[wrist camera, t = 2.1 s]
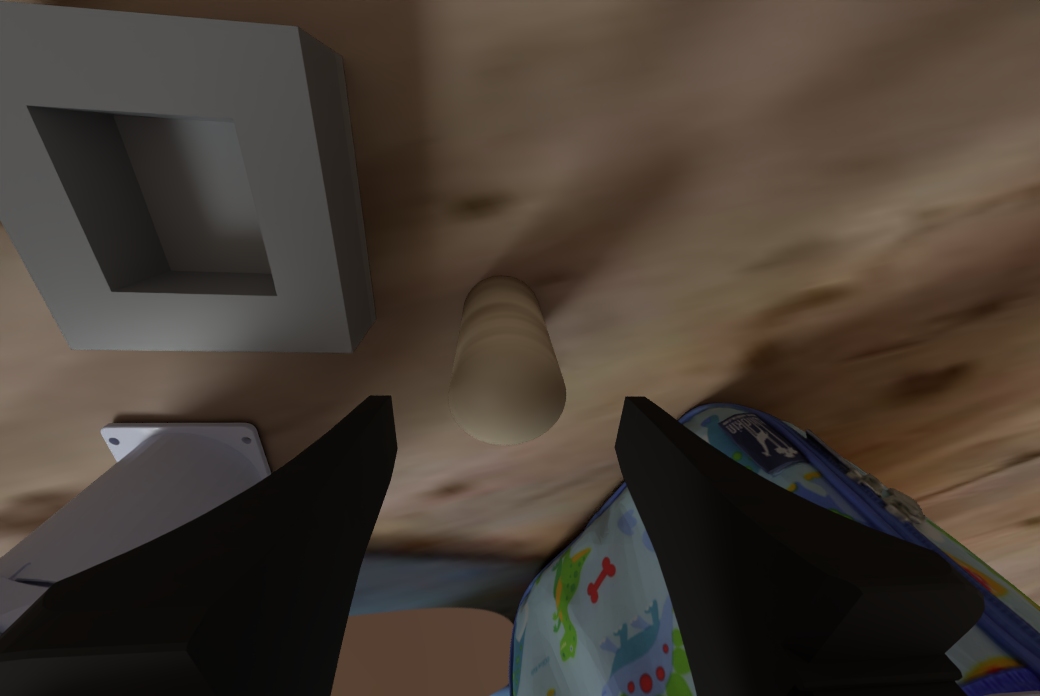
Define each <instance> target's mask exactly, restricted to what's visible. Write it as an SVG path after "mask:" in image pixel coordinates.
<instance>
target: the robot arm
mask: <svg viewBox="0 0 1040 696" xmlns="http://www.w3.org/2000/svg"><path fill="white" fill-rule="evenodd" d="M101 434H102V436H103V438H104V440H105V441H106V443H107V445H108V447H109V448H110V450H111V452H112V454H113V455H114V457H115V459H116V461H117V463H116V464H115V465H114V466H112V467H111V468H110V469H109V470H108V471H106V472H105V473H104V474H103V475H101V476H100V477H99V478H98V479H97V480H95V481H94V482H93V483H92V484H91V485H89V486H88V487H87V488H86V489H84V490H83V491H82V492H81V493H80V494H78V495H77V496H76V497H75V498H73V499H72V500H71V501H70V502H69V503H67V504H66V505H65V506H64V507H62V508H61V509H60V510H59V511H58V512H56V513H55V514H54V515H53V516H51V517H50V518H49V519H48V520H47V521H45V522H44V523H43V524H42V525H41V526H39V527H38V528H37V529H36V530H34V531H33V532H32V533H31V534H30V535H28V536H27V537H26V538H25V539H23V540H22V541H21V542H20V543H19V544H17V545H16V546H15V547H14V548H12V549H11V550H10V551H9V552H8V553H6V554H5V555H4V556H3V557H1V558H0V696H330V695H331V690H332V685H333V681H334V677H335V672H336V668H337V663H338V658H339V654H340V649H341V645H342V640H343V636H344V632H345V628H346V623H347V619H348V615H349V611H350V607H351V603H352V599H353V595H354V591H355V587H356V583H357V579H358V575H359V571H360V567H361V564H362V561H363V558H364V554H365V551H366V548H367V546H368V543H369V540H370V537H371V534H372V532H373V529H374V526H375V523H376V520H377V518H378V515H379V512H380V509H381V506H382V504H383V501H384V498H385V495H386V492H387V489H388V487H389V484H390V481H391V477H392V473H393V468H394V464H395V459H396V454H397V449H398V448H397V440H396V432H395V424H394V416H393V408H392V399H391V396H369V397H368V398H366V399H365V400H364V401H363V402H362V403H361V404H360V405H358V406H357V407H356V408H355V409H354V410H353V411H352V412H350V413H349V414H348V415H347V416H346V417H345V418H343V419H342V420H341V421H340V422H339V423H338V424H336V425H335V426H334V427H333V428H332V429H331V430H329V431H328V432H327V433H326V434H325V435H323V436H322V437H321V438H320V439H318V440H317V441H316V442H314V443H313V444H312V445H310V446H309V447H308V448H307V449H305V450H304V451H303V452H301V453H300V454H299V455H297V456H296V457H295V458H294V459H292V460H291V461H289V462H288V463H287V464H285V465H284V466H282V467H281V468H279V469H278V470H277V471H275V472H274V473H272V474H271V471H270V468H269V465H268V462H267V459H266V456H265V453H264V450H263V447H262V444H261V441H260V438H259V435H258V432H257V429H256V428H255V427H254V426H253V425H252V424H249V423H109V424H107V425H106V426H104V427H103V428H102V429H101ZM247 437H248V438H250V439H248V438H247ZM615 450H616V454H617V458H618V462H619V465H620V468H621V472H622V475H623V478H624V480H625V483H626V485H627V487H628V490H629V492H630V495H631V497H632V499H633V502H634V504H635V506H636V508H637V511H638V513H639V515H640V518H641V520H642V522H643V525H644V527H645V529H646V532H647V534H648V536H649V538H650V541H651V543H652V546H653V548H654V551H655V553H656V556H657V559H658V562H659V565H660V568H661V571H662V574H663V577H664V580H665V584H666V587H667V590H668V593H669V596H670V600H671V603H672V606H673V610H674V613H675V617H676V620H677V623H678V627H679V630H680V634H681V637H682V641H683V645H684V648H685V652H686V656H687V660H688V663H689V667H690V671H691V674H692V678H693V682H694V686H695V690H696V695H697V696H967V694H966V693H965V692H964V691H963V690H962V689H961V688H960V687H959V685H958V684H957V683H956V682H955V681H959V680H960V679H961V678H962V677H963V676H962V673H961V671H960V670H959V668H958V667H957V666H956V665H955V664H954V663H953V662H952V661H951V660H950V659H949V658H948V656H947V655H946V654H945V653H946V652H947V651H948V650H949V649H950V648H951V647H952V646H953V645H954V644H955V643H956V642H957V641H959V640H960V639H961V638H962V637H963V636H964V635H965V634H966V633H967V632H968V631H969V630H970V629H971V628H972V627H973V626H974V625H975V624H976V623H977V622H978V621H979V619H980V618H981V616H982V614H983V612H984V610H985V602H984V595H983V594H982V593H981V592H980V591H979V590H978V589H977V588H976V587H975V586H974V585H973V584H972V583H971V582H970V581H968V580H967V579H966V578H965V577H964V576H963V575H962V574H961V573H960V572H959V571H957V570H956V569H955V568H954V567H953V566H952V565H951V564H950V563H949V562H947V561H946V560H945V559H944V558H943V557H942V556H941V555H939V554H938V553H937V552H935V551H933V550H930V549H927V548H925V547H922V546H919V545H917V544H914V543H911V542H908V541H906V540H903V539H900V538H898V537H895V536H892V535H889V534H887V533H884V532H881V531H878V530H876V529H873V528H871V527H868V526H866V525H863V524H861V523H859V522H856V521H854V520H851V519H849V518H847V517H844V516H842V515H840V514H837V513H835V512H833V511H830V510H828V509H826V508H824V507H822V506H819V505H817V504H815V503H813V502H811V501H809V500H807V499H805V498H803V497H801V496H799V495H797V494H794V493H792V492H790V491H788V490H786V489H784V488H782V487H781V486H779V485H777V484H775V483H773V482H771V481H769V480H767V479H766V478H764V477H762V476H760V475H759V474H757V473H755V472H753V471H752V470H750V469H748V468H746V467H745V466H743V465H741V464H740V463H738V462H737V461H735V460H733V459H732V458H730V457H729V456H727V455H726V454H724V453H723V452H721V451H720V450H718V449H717V448H715V447H713V446H712V445H711V444H709V443H708V442H706V441H705V440H703V439H702V438H701V437H699V436H698V435H696V434H695V433H694V432H692V431H691V430H689V429H688V428H687V427H685V426H684V425H683V424H681V423H680V422H679V421H677V420H676V419H675V418H673V417H672V416H671V415H669V414H668V413H667V412H665V411H664V410H663V409H661V408H660V407H659V406H657V405H656V404H655V403H653V402H652V401H650V400H649V399H647V398H646V397H625V401H624V406H623V411H622V415H621V420H620V425H619V429H618V434H617V439H616V443H615ZM984 696H1040V691H1026V692H1012V693H998V694H990V695H984Z"/></svg>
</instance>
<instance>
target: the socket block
mask: <svg viewBox="0 0 1040 696" xmlns="http://www.w3.org/2000/svg"><path fill="white" fill-rule="evenodd" d="M0 221H1V222H2V224H3V226H4V228H5V230H6V232H7V233H8V235H9V237H10V239H11V241H12V243H13V244H14V246H15V248H16V250H17V252H18V254H19V255H20V257H21V259H22V261H23V263H24V264H25V266H26V268H27V270H28V272H29V274H30V275H31V277H32V279H33V281H34V283H35V285H36V286H37V288H38V290H39V292H40V294H41V296H42V297H43V299H44V301H45V303H46V305H47V307H48V308H49V310H50V312H51V314H52V316H53V318H54V319H55V321H56V323H57V325H58V327H59V328H60V330H61V332H62V334H63V336H64V338H65V339H66V341H67V343H68V345H69V347H70V349H75V350H151V351H227V352H303V353H353V352H354V350H355V349H356V347H357V346H358V344H359V343H360V342H361V340H362V339H363V337H364V336H365V334H366V333H367V332H368V330H369V329H370V327H371V326H372V324H373V323H374V322H375V320H376V313H375V306H374V298H373V290H372V283H371V275H370V267H369V259H368V252H367V244H366V236H365V229H364V221H363V213H362V205H361V198H360V190H359V182H358V175H357V167H356V159H355V151H354V144H353V136H352V128H351V121H350V113H349V105H348V97H347V90H346V82H345V74H344V67H343V59H342V56H341V55H339V54H338V53H336V52H335V51H333V50H332V49H330V48H329V47H327V46H326V45H324V44H323V43H321V42H320V41H318V40H317V39H315V38H314V37H312V36H311V35H310V34H308V33H307V32H305V31H304V30H302V29H301V28H299V27H298V26H287V25H276V24H264V23H252V22H240V21H229V20H217V19H205V18H194V17H182V16H170V15H158V14H147V13H135V12H123V11H112V10H100V9H88V8H76V7H65V6H53V5H41V4H29V3H18V2H6V1H0Z"/></svg>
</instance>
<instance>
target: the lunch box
mask: <svg viewBox="0 0 1040 696" xmlns="http://www.w3.org/2000/svg"><path fill="white" fill-rule="evenodd" d="M678 421H679V422H680V423H681V424H683V425H684V426H685V427H687V428H688V429H689V430H691V431H692V432H694V433H695V434H696V435H698V436H699V437H701V438H702V439H703V440H705V441H706V442H708V443H709V444H711V445H712V446H713V447H715V448H717V449H718V450H720V451H721V452H723V453H724V454H726V455H727V456H729V457H730V458H732V459H733V460H735V461H737V462H738V463H740V464H741V465H743V466H745V467H746V468H748V469H750V470H752V471H753V472H755V473H757V474H759V475H760V476H762V477H764V478H766V479H767V480H769V481H771V482H773V483H775V484H777V485H779V486H781V487H782V488H784V489H786V490H788V491H790V492H792V493H794V494H797V495H799V496H801V497H803V498H805V499H807V500H809V501H811V502H813V503H815V504H817V505H819V506H822V507H824V508H826V509H828V510H830V511H833V512H835V513H837V514H840V515H842V516H844V517H847V518H849V519H851V520H854V521H856V522H859V523H861V524H863V525H866V526H868V527H871V528H873V529H876V530H878V531H881V532H884V533H887V534H889V535H892V536H895V537H898V538H900V539H903V540H906V541H908V542H911V543H914V544H917V545H919V546H922V547H925V548H927V549H930V550H933V551H935V552H937V553H938V554H939V555H941V556H942V557H943V558H944V559H945V560H946V561H947V562H949V563H950V564H951V565H952V566H953V567H954V568H955V569H956V570H957V571H959V572H960V573H961V574H962V575H963V576H964V577H965V578H966V579H967V580H968V581H970V582H971V583H972V584H973V585H974V586H975V587H976V588H977V589H978V590H979V591H980V592H981V593H982V594H983V595H984V602H985V610H984V612H983V614H982V616H981V618H980V619H979V621H978V622H977V623H976V624H975V625H974V626H973V627H972V628H971V629H970V630H969V631H968V632H967V633H966V634H965V635H964V636H963V637H962V638H961V639H960V640H959V641H957V642H956V643H955V644H954V645H953V646H952V647H951V648H950V649H949V650H948V651H947V652H946V653H945V654H946V655H947V656H948V658H949V659H950V660H951V661H952V662H953V663H954V664H955V665H956V666H957V667H958V668H959V670H960V671H961V673H962V676H963V677H962V678H961V679H960V680H959V681H955V682H956V683H957V684H958V685H959V687H960V688H961V689H962V690H963V691H964V692H965V693H966V694H967V696H984V695H990V694H998V693H1012V692H1026V691H1040V607H1039V606H1038V605H1037V604H1036V603H1034V602H1033V601H1032V600H1031V599H1030V598H1028V597H1027V596H1026V595H1025V594H1024V593H1022V592H1021V591H1020V590H1019V589H1017V588H1016V587H1015V586H1014V585H1013V584H1011V583H1010V582H1009V581H1008V580H1006V579H1005V578H1004V577H1002V576H1001V575H1000V574H999V573H997V572H996V571H995V570H994V569H992V568H991V567H990V566H989V565H987V564H986V563H985V562H984V561H982V560H981V559H980V558H979V557H977V556H976V555H975V554H973V553H972V552H971V551H970V550H968V549H967V548H966V547H965V546H963V545H962V544H961V543H959V542H958V541H957V540H956V539H954V538H953V537H952V536H950V535H949V534H948V533H946V532H945V531H944V530H943V529H941V528H940V527H939V526H937V525H936V524H935V523H933V522H932V521H931V520H930V519H928V518H927V517H926V516H925V515H923V512H922V511H921V510H922V509H921V508H920V506H919V505H918V504H917V501H915V500H914V499H912V498H910V497H909V496H907V495H905V494H903V493H901V492H899V491H897V490H895V489H893V488H889V489H888V488H887V487H885V486H884V485H883V484H882V483H881V482H880V481H879V480H878V479H877V478H876V477H874V476H873V475H871V474H870V473H869V474H867V473H865V472H864V471H863V470H861V469H860V468H858V467H857V466H855V465H854V464H852V463H851V462H849V461H848V460H846V459H844V458H843V457H841V456H840V455H839V454H838V453H836V452H835V451H834V450H833V449H831V448H830V447H829V446H827V445H826V444H825V443H824V442H823V441H822V440H821V439H820V438H818V437H817V436H816V435H815V434H814V433H813V432H811V431H810V430H809V429H806V433H805V432H804V431H802V430H801V429H799V428H798V427H796V426H794V425H793V424H791V423H789V422H786V421H781V420H780V419H778V418H776V417H774V416H772V415H770V414H767V413H765V412H762V411H759V410H756V409H752V408H749V407H745V406H742V405H737V404H731V403H711V404H706V405H702V406H698V407H696V408H694V409H692V410H690V411H689V412H687V413H686V414H685V415H684V416H683V417H681V418H680V419H679V420H678ZM509 687H510V696H697V695H696V690H695V686H694V682H693V678H692V674H691V671H690V667H689V663H688V660H687V656H686V652H685V648H684V645H683V641H682V637H681V634H680V630H679V627H678V623H677V620H676V617H675V613H674V610H673V606H672V603H671V600H670V596H669V593H668V590H667V587H666V584H665V580H664V577H663V574H662V571H661V568H660V565H659V562H658V559H657V556H656V553H655V551H654V548H653V546H652V543H651V541H650V538H649V536H648V534H647V532H646V529H645V527H644V525H643V522H642V520H641V518H640V515H639V513H638V511H637V508H636V506H635V504H634V502H633V499H632V497H631V495H630V492H629V490H628V487H627V485H626V483H625V482H624V483H623V484H622V485H621V486H620V487H619V488H618V489H617V491H616V492H615V493H614V494H613V495H612V496H611V497H610V498H609V499H608V500H607V502H606V503H605V504H604V505H603V506H602V508H601V509H600V510H599V511H598V512H596V513H595V515H594V516H593V517H592V519H591V520H590V522H589V523H588V525H587V526H586V528H585V530H584V531H583V532H582V533H581V534H580V535H579V536H578V537H577V538H576V539H575V540H574V541H573V542H571V543H570V544H569V545H568V546H567V547H566V548H565V549H564V550H563V551H562V552H561V553H560V554H558V555H557V556H556V557H555V558H554V559H553V560H552V561H551V562H550V563H549V564H548V565H547V566H546V567H544V568H543V569H542V570H541V572H540V573H539V574H538V575H537V576H536V577H535V578H534V579H533V581H532V582H531V583H530V585H529V586H528V588H527V590H526V591H525V593H524V595H523V598H522V600H521V602H520V605H519V608H518V611H517V615H516V619H515V622H514V627H513V633H512V639H511V647H510V661H509Z"/></svg>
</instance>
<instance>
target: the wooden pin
mask: <svg viewBox="0 0 1040 696" xmlns="http://www.w3.org/2000/svg"><path fill="white" fill-rule="evenodd" d="M448 401H449V407H450V411H451V413H452V416H453V418H454V419H455V421H456V422H457V424H458V425H459V426H460V427H461V428H462V429H463V430H464V431H465V432H466V433H468V434H469V435H471V436H472V437H474V438H476V439H478V440H480V441H483V442H486V443H490V444H496V445H515V444H521V443H524V442H528V441H530V440H533V439H535V438H537V437H539V436H541V435H542V434H544V433H545V432H547V431H548V430H549V429H550V428H551V427H552V426H553V425H554V424H555V423H556V422H557V420H558V419H559V417H560V415H561V414H562V412H563V409H564V406H565V401H566V387H565V383H564V380H563V377H562V374H561V371H560V368H559V365H558V362H557V359H556V356H555V353H554V350H553V347H552V343H551V340H550V337H549V334H548V331H547V328H546V325H545V322H544V319H543V316H542V313H541V310H540V307H539V304H538V301H537V298H536V296H535V294H534V293H533V291H532V290H531V289H530V288H529V287H528V286H527V285H526V284H525V283H523V282H522V281H520V280H518V279H515V278H513V277H508V276H495V277H491V278H487V279H485V280H483V281H481V282H480V283H478V284H477V285H476V286H474V288H473V289H472V290H471V291H470V292H469V294H468V296H467V298H466V300H465V303H464V308H463V314H462V320H461V325H460V331H459V337H458V343H457V348H456V354H455V360H454V365H453V371H452V377H451V382H450V388H449V396H448Z"/></svg>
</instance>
